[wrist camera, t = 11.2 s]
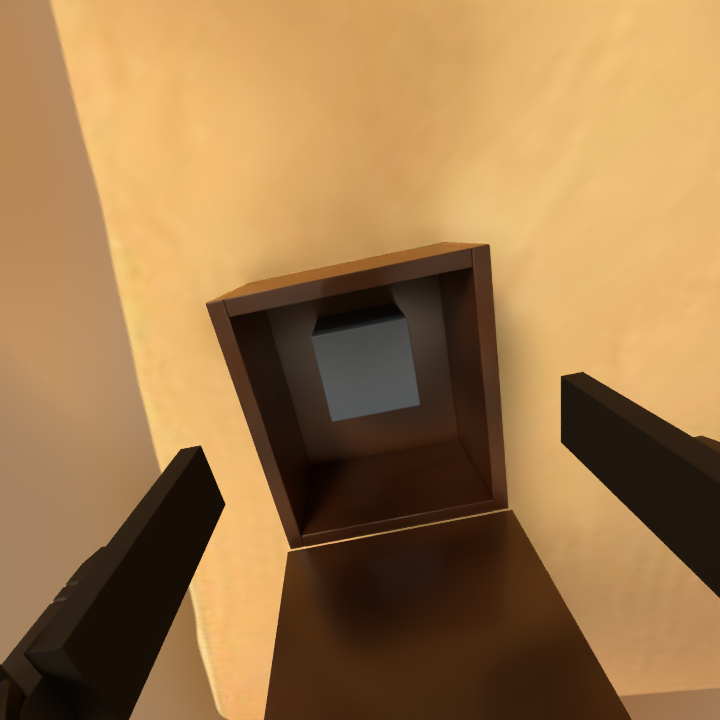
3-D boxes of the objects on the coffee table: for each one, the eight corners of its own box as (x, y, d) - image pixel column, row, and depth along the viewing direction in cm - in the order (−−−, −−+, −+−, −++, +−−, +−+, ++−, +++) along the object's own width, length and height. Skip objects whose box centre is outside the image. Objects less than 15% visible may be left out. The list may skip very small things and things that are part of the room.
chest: (247, 283, 24) (204, 303, 17) (444, 242, 24) (490, 243, 16) (304, 471, 29) (290, 549, 22) (466, 439, 29) (508, 508, 22)
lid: (167, 1392, 6) (184, 1379, 7) (959, 1292, 6) (936, 1284, 6) (287, 551, 21) (291, 560, 22) (512, 509, 21) (512, 518, 21)
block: (317, 318, 24) (310, 337, 20) (395, 302, 24) (407, 318, 20) (334, 389, 26) (331, 422, 21) (406, 375, 26) (420, 405, 21)
